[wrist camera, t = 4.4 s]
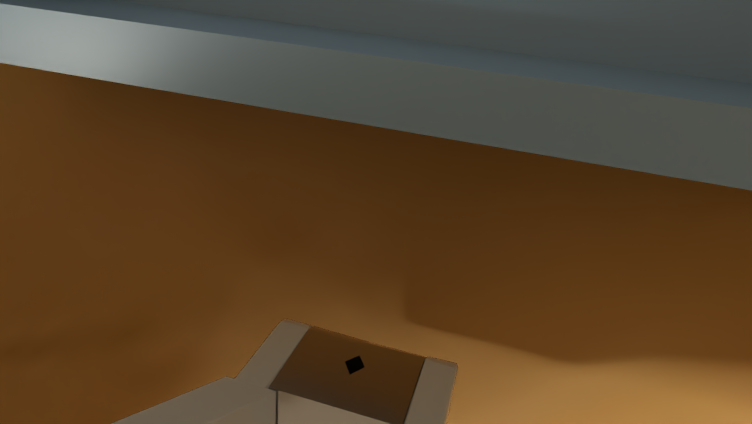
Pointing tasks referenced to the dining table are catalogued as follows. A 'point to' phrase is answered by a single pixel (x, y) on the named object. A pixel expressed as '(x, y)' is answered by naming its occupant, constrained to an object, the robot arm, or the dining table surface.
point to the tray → (439, 68)
